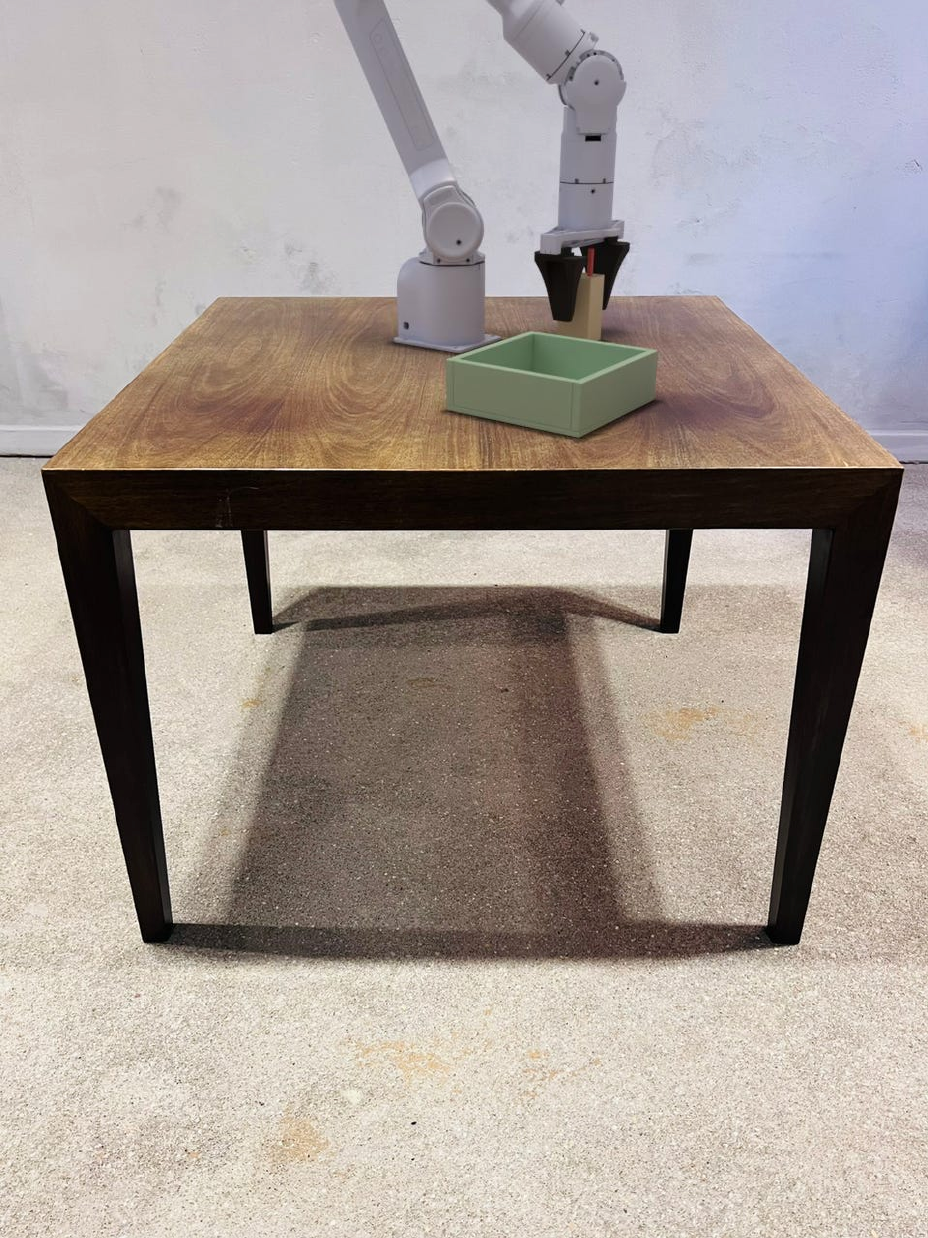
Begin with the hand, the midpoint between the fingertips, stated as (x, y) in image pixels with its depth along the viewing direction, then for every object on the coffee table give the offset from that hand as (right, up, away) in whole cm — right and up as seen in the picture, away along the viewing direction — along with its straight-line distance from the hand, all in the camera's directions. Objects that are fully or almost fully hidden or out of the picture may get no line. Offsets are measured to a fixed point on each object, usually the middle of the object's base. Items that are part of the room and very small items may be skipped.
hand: (580, 314), depth 109 cm
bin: (-5, -15, -21) cm, 26 cm away
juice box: (0, -2, +1) cm, 3 cm away
